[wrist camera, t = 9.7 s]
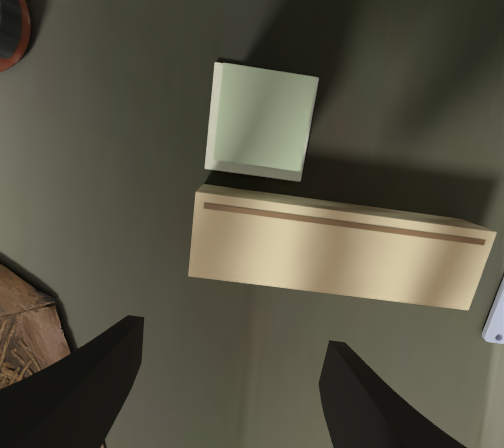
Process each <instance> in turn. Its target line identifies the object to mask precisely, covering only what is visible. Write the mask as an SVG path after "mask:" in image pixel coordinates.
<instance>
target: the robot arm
mask: <svg viewBox="0 0 504 448" xmlns="http://www.w3.org/2000/svg"><path fill="white" fill-rule="evenodd" d="M143 328H144V317H138V316H130V315H128V316H126V317H125V318H123V319H122V320H120V321H119V322H118V323H116V324H115V325H113V326H112V327H110V328H109V329H107V330H106V331H105V332H103V333H102V334H100V335H99V336H97V337H96V338H94V339H93V340H91V341H90V342H88V343H87V344H85V345H84V346H82V347H80V348H79V349H77V350H75V351H74V352H72V353H70V354H69V355H67V356H65V357H64V358H62V359H61V360H59V361H57V362H55V363H53V364H52V365H50V366H48V367H46V368H44V369H42V370H40V371H38V372H36V373H34V374H32V375H30V376H28V377H26V378H24V379H22V380H20V381H18V382H15V383H13V384H11V385H9V386H6V387H4V388H2V389H0V448H101V446H102V444H103V442H104V440H105V438H106V436H107V434H108V432H109V431H110V429H111V427H112V425H113V423H114V421H115V419H116V417H117V415H118V413H119V412H120V410H121V408H122V406H123V404H124V402H125V400H126V398H127V396H128V394H129V392H130V390H131V388H132V386H133V383H134V381H135V378H136V376H137V373H138V370H139V367H140V365H141V360H142V344H143ZM497 335H498V336H497ZM482 337H483V338H484V339H485V340H486V341H487V342H492V343H500V344H504V278H503V280H502V283H501V285H500V288H499V291H498V293H497V296H496V298H495V301H494V304H493V306H492V309H491V311H490V314H489V316H488V319H487V322H486V324H485V327H484V329H483V332H482ZM319 389H320V396H321V402H322V408H323V412H324V416H325V419H326V423H327V426H328V430H329V433H330V437H331V440H332V444H333V447H334V448H466V447H465V446H464V445H462V444H461V443H459V442H458V441H456V440H455V439H453V438H452V437H451V436H449V435H448V434H446V433H445V432H444V431H442V430H441V429H440V428H438V427H437V426H436V425H434V424H433V423H432V422H431V421H429V420H428V419H427V418H425V417H424V416H423V415H422V414H420V413H419V412H418V411H417V410H415V409H414V408H413V407H412V406H411V405H409V404H408V403H407V402H406V401H405V400H404V399H403V398H402V397H400V396H399V395H398V394H397V393H396V392H395V391H394V390H393V389H392V388H391V387H389V386H388V385H387V384H386V383H385V382H384V381H383V380H382V379H381V378H380V377H379V376H378V375H377V374H376V373H375V372H374V371H373V370H372V369H371V368H370V367H369V366H368V365H367V364H366V363H365V362H364V361H363V360H362V359H361V358H360V357H359V356H358V355H357V354H356V353H355V352H354V351H353V350H352V349H351V348H350V347H349V346H348V345H347V344H346V343H345V342H338V341H330V340H329V344H328V348H327V352H326V356H325V360H324V364H323V368H322V372H321V376H320V380H319Z"/></svg>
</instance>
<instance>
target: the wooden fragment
mask: <svg viewBox="0 0 504 448" xmlns="http://www.w3.org/2000/svg"><path fill="white" fill-rule="evenodd" d="M52 303H55V300H54V299H53V298H52V297H50V296H48V295H47V294H45V293H42V292H38V291H37V290H36V289H35V288H34V287H32V286H31V285H29V284H28V283H27V282H25V281H24V280H22V279H21V278H20V277H18V276H17V275H15V274H14V273H13V272H11V271H10V270H9V269H7V268H6V267H4V266H3V265H1V264H0V389H2V388H4V387H6V386H9V385H11V384H13V383H15V382H18V381H20V380H22V379H24V378H26V377H28V376H30V375H32V374H34V373H36V372H38V371H40V370H42V369H44V368H46V367H48V366H50V365H52V364H53V363H55V362H57V361H59V360H61V359H62V358H64V357H65V356H67V355H69V354H70V351H69V348H68V345H67V342H66V340H65V337H64V332H62V331H63V330H62V329H60V328H61V324H60V320H59V317H58V315H57V312H56V305H55V304H54V305H53V306H52V307H51V306H50V307H46V308H45V305H47V304H52ZM101 448H104V446H103V444H102V446H101Z"/></svg>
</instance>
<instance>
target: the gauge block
mask: <svg viewBox="0 0 504 448" xmlns="http://www.w3.org/2000/svg"><path fill="white" fill-rule="evenodd" d="M316 81H317V77H313V76H306V75H300V74H293V73H287V72H281V71H274V70H268V69H261V68H255V67H248V66H242V65H235V64H229V63H223V70H222V80H221V90H220V99H219V109H218V119H217V128H216V138H215V147H214V157H213V159H214V160H221V161H228V162H235V163H243V164H250V165H257V166H264V167H271V168H278V169H285V170H292V171H299V172H300V171H301V165H302V159H303V154H304V148H305V143H306V137H307V132H308V126H309V120H310V115H311V109H312V104H313V98H314V93H315V87H316Z"/></svg>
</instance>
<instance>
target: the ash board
mask: <svg viewBox="0 0 504 448" xmlns="http://www.w3.org/2000/svg"><path fill="white" fill-rule="evenodd" d="M496 233H497V232H495V231H493V230H490V229H487V228H485V227H482V226H479V225H477V224H474V223H471V222H469V221H466V220H463V219H459V218H452V217H444V216H437V215H429V214H422V213H415V212H407V211H400V210H392V209H385V208H378V207H370V206H363V205H355V204H348V203H341V202H333V201H326V200H318V199H311V198H304V197H296V196H289V195H281V194H274V193H267V192H259V191H252V190H244V189H237V188H230V187H222V186H215V185H207V184H203V185H202V186H201V187H200V188H199V189H198V190H197V191H196V195H195V207H194V218H193V229H192V240H191V251H190V263H189V274H188V276H192V277H200V278H208V279H216V280H224V281H232V282H241V283H249V284H257V285H265V286H273V287H282V288H290V289H298V290H306V291H314V292H322V293H331V294H339V295H347V296H355V297H363V298H372V299H380V300H388V301H396V302H404V303H412V304H421V305H429V306H437V307H445V308H453V309H462V310H469V307H470V305H471V302H472V299H473V296H474V294H475V291H476V288H477V286H478V283H479V280H480V277H481V275H482V272H483V269H484V266H485V264H486V261H487V258H488V255H489V253H490V250H491V247H492V244H493V242H494V239H495V236H496Z"/></svg>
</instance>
